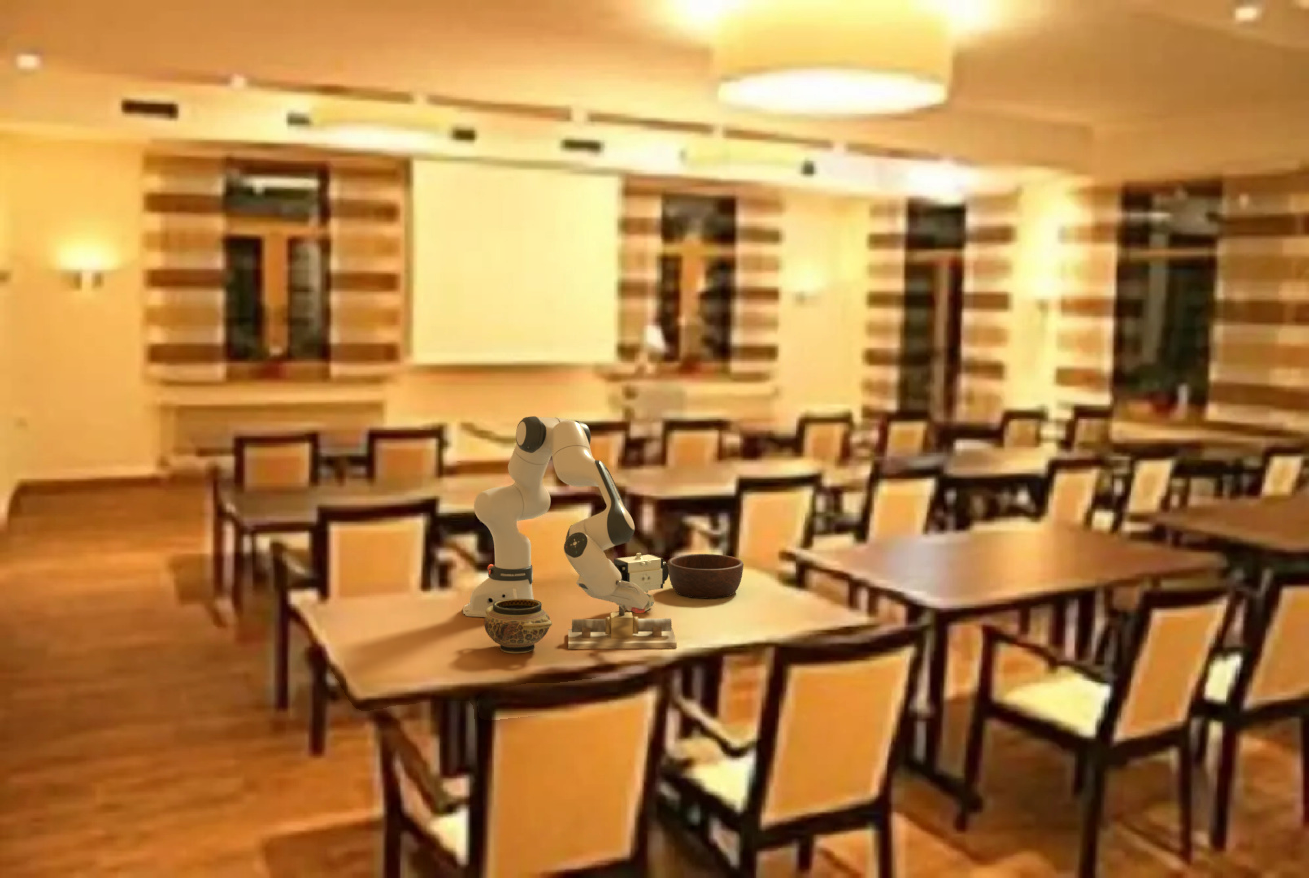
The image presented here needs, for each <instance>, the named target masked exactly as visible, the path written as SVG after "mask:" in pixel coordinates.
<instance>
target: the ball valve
mask: <svg viewBox="0 0 1309 878" xmlns="http://www.w3.org/2000/svg"><path fill="white" fill-rule="evenodd" d="M613 564H614V565H615V566H616V568H617V569H618V570H619V571H620V573H621V576H622V578H621V580H622V581H626V582H631V583H634V584H636V585H637V586H639V587H640V588H641V589H642V590H643V591H644V592H645V593H646V594H647V596H648V597H649V601H648V603H647V604H646V606H645V612H646V611H650V609H651V607H654V603H655V598H654V596H653V595H652V594H649V591H655V590H661V589H664V585H665V584H666V581H667V580H668V578H669V570H668V562H666V561H665V559H664V557H660V556H657V555H654V554H652V553H651V554H644V555H642V553H641V552H637V553H636V555H635V556H627V557H626V556H625V557H617V558H613Z"/></svg>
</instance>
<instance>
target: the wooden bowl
mask: <svg viewBox="0 0 1309 878" xmlns="http://www.w3.org/2000/svg"><path fill="white" fill-rule="evenodd" d="M667 566H668V570H669V575H668V578H669V581H670V585H671V587H672V589H673V590H674V592H675V593H677V594H679V595H681V596H683V597H687V596H688V598H696V599H718V598H726V597H729V596H732V595H734V594H735V593H736V592H737V590H738V589H739V586H740V585H741V582H742V577H743V572H744V562H743V560H741V559H739V558H737V557H734V556H729V555H723V554H713V553H692V554H683V555H682V554H681V555H677V556H674V557H673V556H672V557H671V558H669V559H668V560H667Z"/></svg>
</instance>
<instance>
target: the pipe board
mask: <svg viewBox="0 0 1309 878" xmlns="http://www.w3.org/2000/svg"><path fill="white" fill-rule="evenodd" d="M625 611H626V610H623V609H622V608H621V607H620V606H619V605H618V611H617V612H616V611H613V612H610V616H605V618H594V619H593V618H591V619H590V618H589V619H588V618H587V619H586V618H582V619H581V618H579V619H575V618H574V619H571V628H570V629H569V628H568V629H567V631H568V633H567V634H568V637H567V639H568V642H567V643H568V647H567V648H568V650H575V649H576V650H581V649H582V650H586V649H588V650H589V649H591V650H592V649H593V650H594V649H597V650H598V649H601V650H602V649H603V650H605V649H676V648H677V646H678V645H677V639H676V635H675V633H674V629H673V627H672V618H671V617H670V618H639V616H633V611H626V612H625Z"/></svg>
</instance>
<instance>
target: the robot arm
mask: <svg viewBox="0 0 1309 878" xmlns="http://www.w3.org/2000/svg"><path fill="white" fill-rule="evenodd" d="M591 438H592V435H591V431H590V428H589V426H588V425H587V424H586V423H584V422H583V421H579V420H571V419H566V418H563V417H549V416H543V417H542V416H539V417H538V416H535V415H534V416H532V415H530V416H525V417H523V418H522V419H521V420H520V421H519V423H518V424H517V427H516V432H515V440H516V444H515V445H514V449H513V451H512V454H511V457H510V459H509V461H508V465H507V470H508V474H509V477H510V478H511V479H512V480H513V481H514V482H513V483H512V484H510V485H506V486H504V485H503V486H496V487H491V488H489V489H486V490H483V491H480V492H479V493H478V494H477V495H476V497H475V499H474V503H473V510H474V514H475V515H476V517H477V519H478V520H479V522H480V523H483V524H484V526H486V527H487V528H488V530H489V532H490V534H491V536H492V540H493V545H494V546H493V548H494V564H492V563H491V564H488V566H487V571H488V572H487V573H488V578H487V579H485V580H484V581H482V582H481V583H480V584H479V585H477V586H476V587H474V589H473V590H472V592H471V595H470V599H469V603H467V604H465V605H464V606H463V608H462V614H463V615H464V614H465V615H464V616H466V617H476V618H477V617H481V618H485V617H486V615H487V614H486V609H487V608H488V607H490V606H493V603H494V602H497V601H501V600H507V599H533V600H535V599H534V592H533V585H532V584H533V581H534V569H533V564H532V543H531V540H530V538H529V537H528V536H527V535H525V534H523V533H522V532H520V531H519V529H518V525H517V524H518V523H517V522H519V521H526V520H532V519H535V518H536V519H537V518H538V517H540V516H543V515H546V514H547V513H548V511H549V510H550V507H551V500H552V499H551V496H550V492H549V491H548V489H547V488H546V487H545V486H544V484H543V483H544V481H543V480H544V478H545V477H544V476H545V474H546V471H547V468H548V465H549V463H550V461H551V459H552V464H553V467H554V472H555V474H556V476H557V478H558V480H560V481H561V482H563V483H564V484H565V485H568V486H571V487H576V488H577V487H578V488H581V487H583V488H585V487H597V488H599V491H600V493H601V496H602V498H603V500H604V503H605V504H606V508H605V509H604V510H603V511H601V512H599V513H597V514H594V515H591V516H590V517H588V518H584V519H582V520H579V521H578V522H575V523H573V524H571V525H570V526H569V528H568V531H567V532H566V537H565V541H564V544H563V551H564V554H565V557H566V558H567V561H568V562H569V564H570V565H571V567H572V568H573V569H574V571H575V572H576V573H577V574H578V575H579V576H578V578H577V580H576V582H575V583H576V585H577V586H578V587H579V588H581V589H582V590H583V591H584V593H586V594H587V596H590V597H591V598H593V599H598V600H602V601H606V602H610V603H614V604H616V605H617V606H618V607H619V606H620V607H621V608H622V609H623V610H625V611H627V612H632V611H631V609H632V608H633V607H635V608H639V609H644V607H645V606H646V604H647V603H648V601H649V597H648V596H647V594H648V593H647V594H646V593H645V592H644V591H643V590H642V589H641V588H640V587H639V586H637V585H636V584H634V583H631V582H626V581H622V580H621V578H622V576H621V573H620V571H619V570H618V569H617V568H616V566H615V565H614V562H613V561H612V560H611V559H610V558H607V556H606V553H605V552H604V551H605V550H608V549H610V548H613V547H615V546H620V545H623V544H626V543H629V542H630V541H631V540H632V538H633V535H634V534H635V530H636V526H635V523H634V520H633V518H632V516H631V514H630V512H629V511H628V509H627V507H626V505H625V503H624V500H623V498H622V496H621V494H620V491H619V489H618V487H617V484H616V483H615V481H614V478H613V476H612V473H611V472H610V470H609V469H608V468H607V466H606V465H605V463H603V462H602V461H601V460H597V459H595V458H594V456H593V453H592V450H591V440H592V439H591Z"/></svg>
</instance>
